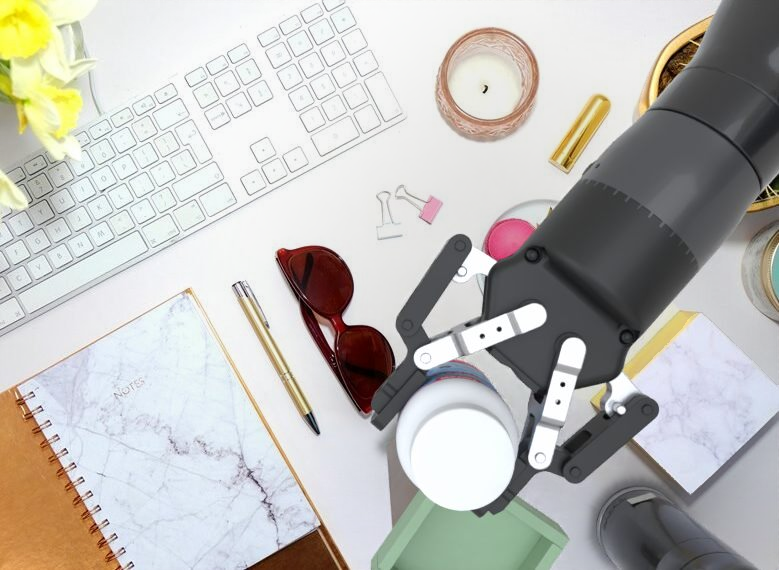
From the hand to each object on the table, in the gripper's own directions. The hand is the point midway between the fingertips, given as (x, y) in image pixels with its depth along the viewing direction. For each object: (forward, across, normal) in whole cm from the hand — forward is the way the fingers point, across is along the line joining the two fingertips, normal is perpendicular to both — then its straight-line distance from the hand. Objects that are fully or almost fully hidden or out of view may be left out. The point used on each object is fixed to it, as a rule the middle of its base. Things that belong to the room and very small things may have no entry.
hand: (425, 465), depth 34 cm
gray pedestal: (+5, +7, +38) cm, 39 cm away
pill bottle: (-2, 0, +6) cm, 7 cm away
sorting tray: (+4, +8, +10) cm, 14 cm away
